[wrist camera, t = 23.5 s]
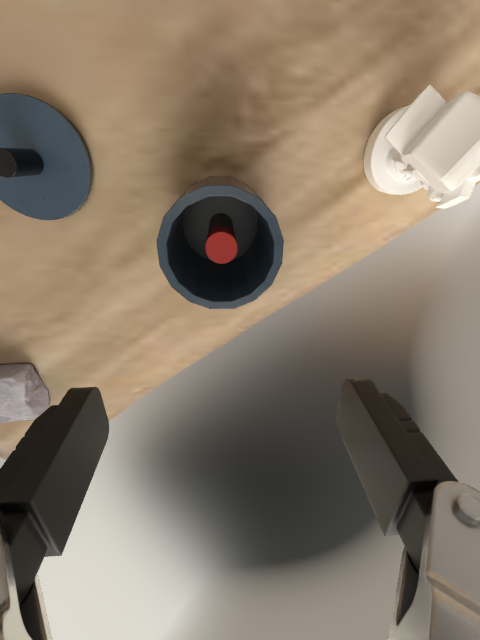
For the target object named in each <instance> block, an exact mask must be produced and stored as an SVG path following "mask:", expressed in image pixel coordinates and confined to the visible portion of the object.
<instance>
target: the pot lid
mask: <svg viewBox="0 0 480 640" xmlns="http://www.w3.org/2000/svg"><path fill="white" fill-rule="evenodd" d="M91 185H92V167H91V161H90V157H89V154H88V151H87V149H86V146H85V144H84V142H83V140H82V138H81V137H80V135H79V133H78V132H77V130H76V129H75V128H74V127H73V125H72V124H71V123H70V122H69V121H68V120H67V119H66V118H65V117H64V116H63V115H62V114H61V113H60V112H59V111H57V110H56V109H55V108H53V107H52V106H50V105H49V104H47V103H45V102H43V101H41V100H39V99H36V98H34V97H31V96H27V95H23V94H17V93H5V94H0V200H1V201H2V202H4V203H5V204H6V205H8V206H9V207H11V208H12V209H14V210H16V211H17V212H19V213H21V214H24V215H26V216H29V217H32V218H36V219H42V220H55V219H60V218H64V217H66V216H69V215H71V214H72V213H74V212H76V211H77V210H78V209H79V208H80V207H81V206H82V205H83V204H84V202H85V201H86V199H87V197H88V195H89V192H90V189H91Z"/></svg>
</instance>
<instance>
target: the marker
mask: <svg viewBox="0 0 480 640" xmlns="http://www.w3.org/2000/svg"><path fill="white" fill-rule="evenodd" d="M205 250H206V254H207V256H208V257H209V258H210V259H211V260H212V261H213V262H215V263H219V264H224V263H228V262H230V261H231V260H233V259H234V257H235V256H236V254H237V250H238V246H237V241H236V236H235V233H234V228H233V223H232V220H231V218H230V217H229V216H228V215H226V214H224V213H218V214H215V215H214V216H213V217H212V218H211V220H210V223H209V229H208V235H207V239H206V245H205Z"/></svg>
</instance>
